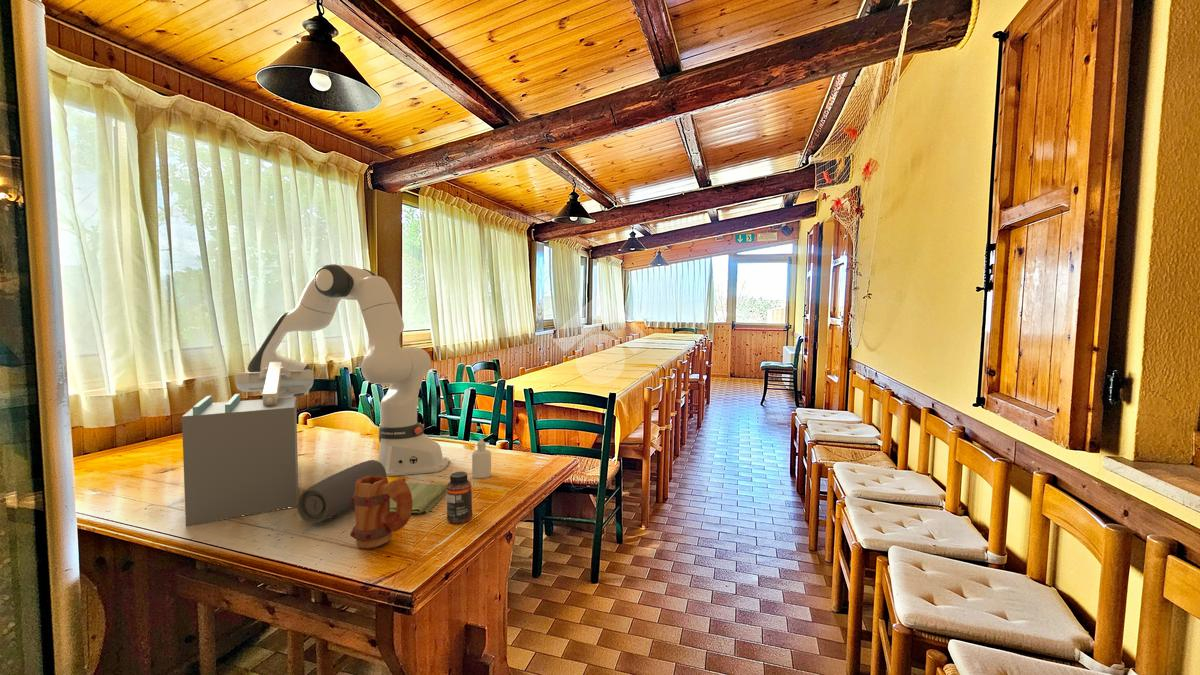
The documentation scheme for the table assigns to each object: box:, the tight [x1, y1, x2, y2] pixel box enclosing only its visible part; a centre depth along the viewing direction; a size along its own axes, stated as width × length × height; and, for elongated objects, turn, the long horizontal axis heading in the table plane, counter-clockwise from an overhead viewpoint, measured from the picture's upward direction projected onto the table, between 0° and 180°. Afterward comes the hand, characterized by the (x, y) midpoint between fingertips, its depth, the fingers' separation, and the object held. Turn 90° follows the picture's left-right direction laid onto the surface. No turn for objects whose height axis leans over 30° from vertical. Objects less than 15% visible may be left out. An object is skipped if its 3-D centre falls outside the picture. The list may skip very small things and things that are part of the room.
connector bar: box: [262, 362, 282, 406], centre depth 137 cm, size 31×3×3 cm, turn 31°
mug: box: [349, 476, 413, 549], centre depth 103 cm, size 15×8×15 cm, turn 69°
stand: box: [181, 393, 299, 527], centre depth 125 cm, size 18×22×28 cm
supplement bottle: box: [445, 470, 473, 524], centre depth 117 cm, size 6×6×11 cm
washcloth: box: [390, 481, 447, 515], centre depth 128 cm, size 13×18×3 cm
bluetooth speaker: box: [296, 459, 388, 524], centre depth 123 cm, size 23×9×10 cm, turn 171°
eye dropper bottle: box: [471, 437, 492, 479], centre depth 148 cm, size 4×6×12 cm
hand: (274, 369), depth 144 cm, fingers closed on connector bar, 3 cm apart
